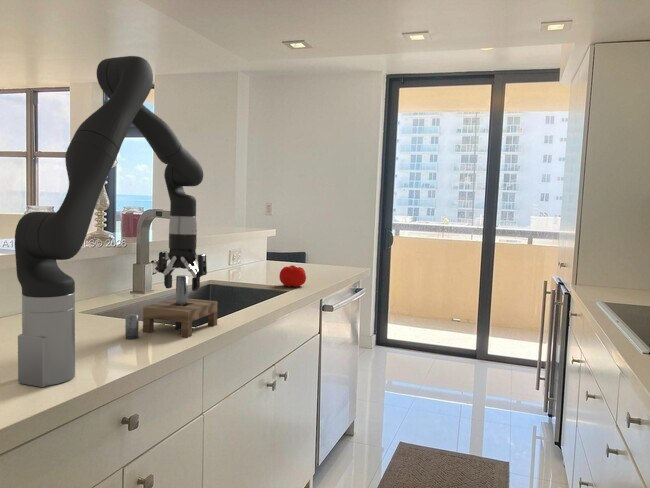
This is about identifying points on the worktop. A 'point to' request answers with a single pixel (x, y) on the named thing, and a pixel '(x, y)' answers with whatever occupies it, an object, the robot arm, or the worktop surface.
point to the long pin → (181, 294)
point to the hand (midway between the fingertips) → (181, 289)
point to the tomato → (292, 276)
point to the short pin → (131, 326)
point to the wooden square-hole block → (180, 314)
